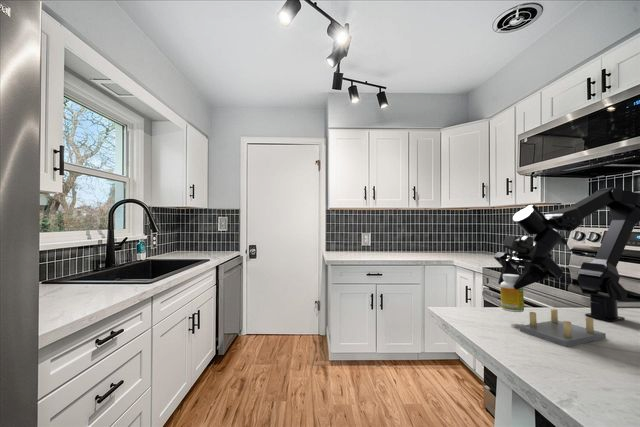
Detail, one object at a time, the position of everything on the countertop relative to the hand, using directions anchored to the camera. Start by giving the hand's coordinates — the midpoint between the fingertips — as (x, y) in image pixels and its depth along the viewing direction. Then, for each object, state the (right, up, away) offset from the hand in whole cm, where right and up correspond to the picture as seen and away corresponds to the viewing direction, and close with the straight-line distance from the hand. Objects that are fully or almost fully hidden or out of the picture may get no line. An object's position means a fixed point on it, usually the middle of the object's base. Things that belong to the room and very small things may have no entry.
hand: (506, 286), depth 84 cm
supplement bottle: (+1, -7, 0) cm, 7 cm away
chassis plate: (+8, -10, -9) cm, 16 cm away
